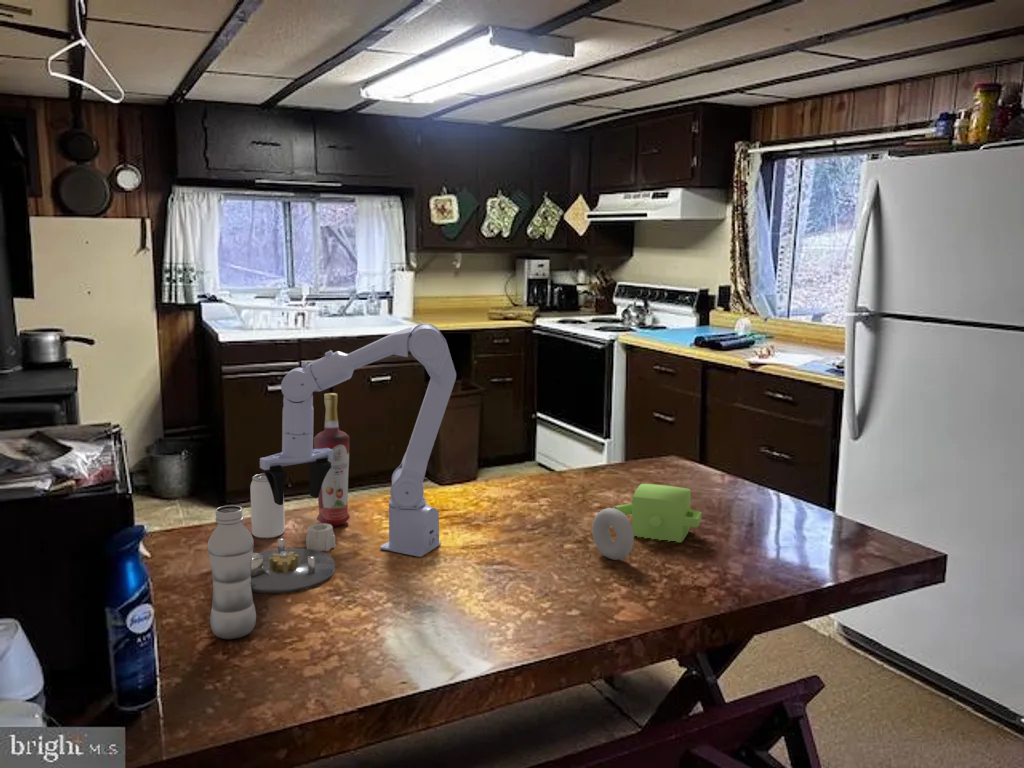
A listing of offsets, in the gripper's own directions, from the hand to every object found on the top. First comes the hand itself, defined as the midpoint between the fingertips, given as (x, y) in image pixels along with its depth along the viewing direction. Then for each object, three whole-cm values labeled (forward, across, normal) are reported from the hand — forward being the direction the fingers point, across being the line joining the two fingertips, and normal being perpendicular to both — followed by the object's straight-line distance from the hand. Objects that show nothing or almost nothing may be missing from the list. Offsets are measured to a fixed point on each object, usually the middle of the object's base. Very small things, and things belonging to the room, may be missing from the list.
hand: (296, 500), depth 157 cm
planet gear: (+10, -4, +2) cm, 11 cm away
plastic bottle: (+10, +24, +25) cm, 36 cm away
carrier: (+10, +8, +8) cm, 15 cm away
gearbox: (+7, -60, +42) cm, 74 cm away
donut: (+8, -43, +44) cm, 62 cm away
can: (+10, 0, -12) cm, 16 cm away
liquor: (+10, -13, -8) cm, 18 cm away
